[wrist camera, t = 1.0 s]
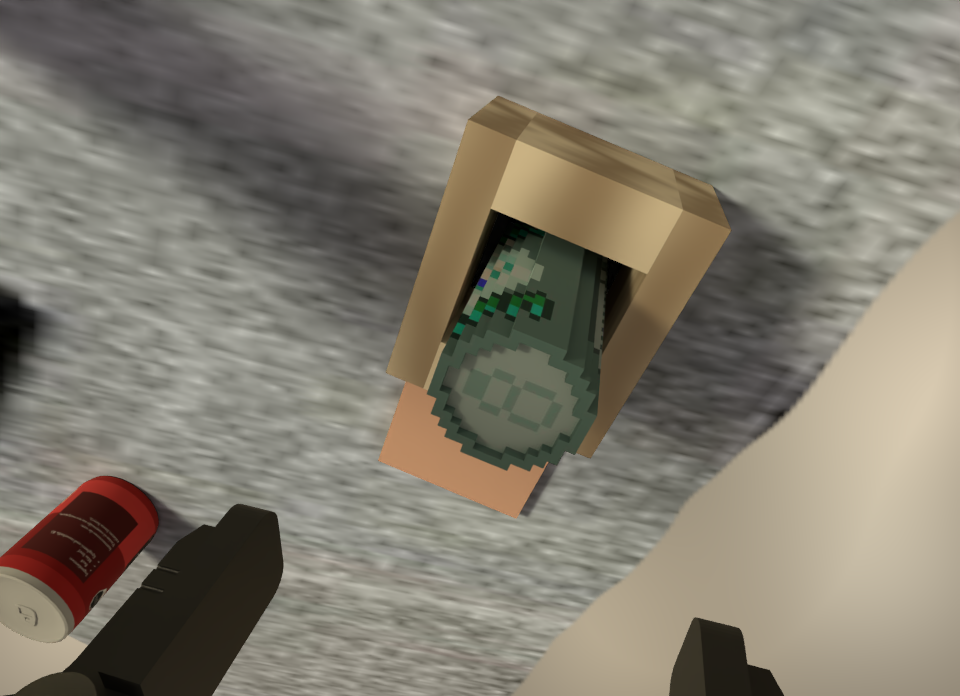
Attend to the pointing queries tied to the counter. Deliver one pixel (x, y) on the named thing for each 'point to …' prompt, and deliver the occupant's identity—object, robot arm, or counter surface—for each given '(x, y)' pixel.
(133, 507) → the canned food
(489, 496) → the plate
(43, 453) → the counter surface
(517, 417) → the can
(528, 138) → the bore block
